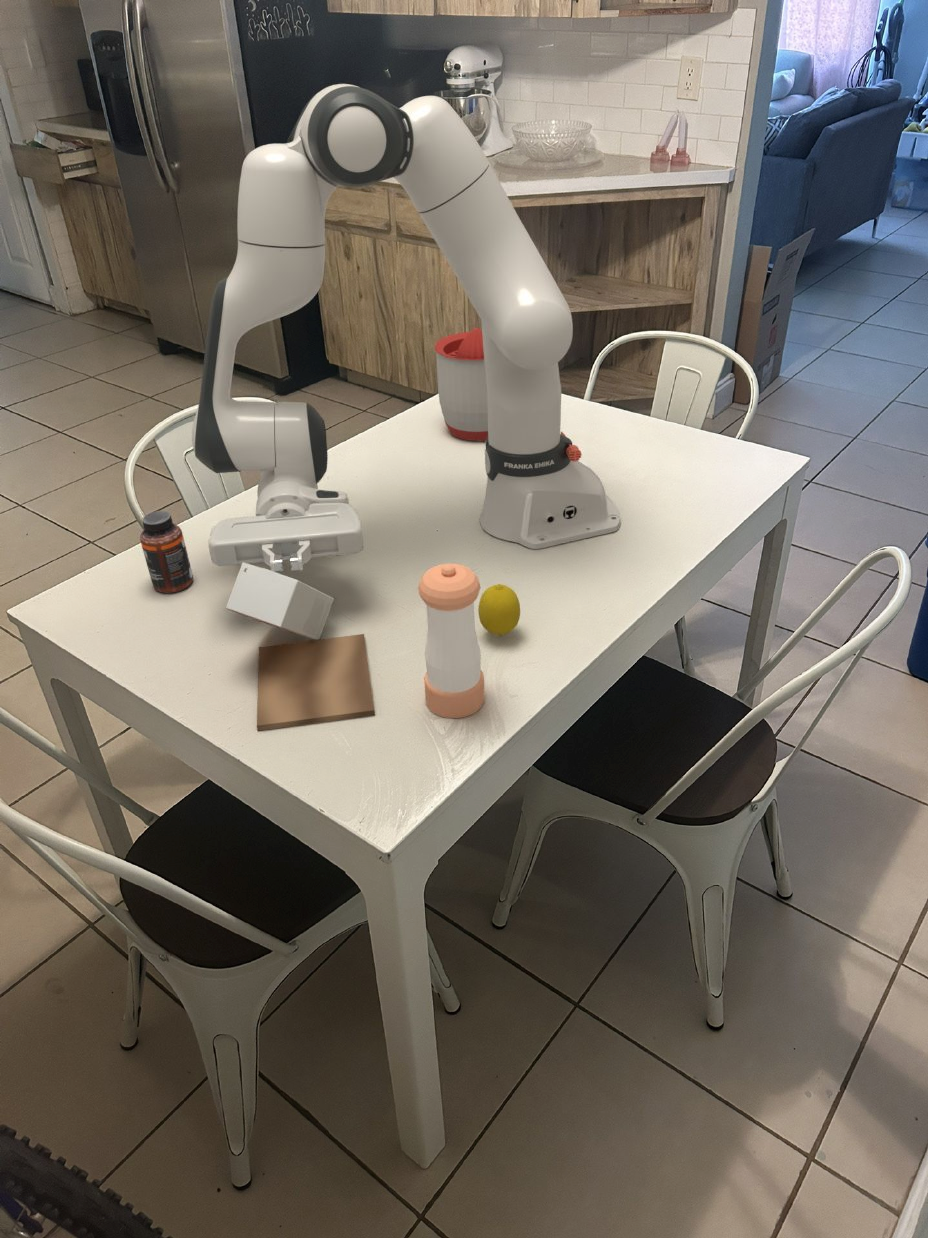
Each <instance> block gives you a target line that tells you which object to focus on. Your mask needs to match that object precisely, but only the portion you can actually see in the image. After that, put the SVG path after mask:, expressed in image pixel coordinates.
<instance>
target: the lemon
mask: <svg viewBox="0 0 928 1238" xmlns="http://www.w3.org/2000/svg"><path fill="white" fill-rule="evenodd" d="M479 599H480V600H479V602H478V609H477V612H478V616H479V617H478V618H479V622H480V624H481V625H482V627H483V629H485V631H486V632H488V633H490V634H492V635H494V636H495V635H496V636H498V635H499V636H498V637H501V636H504V635H507V634H509V633H511V632H512V631H513V630H514V629H515V628H516V627H517V626H518V624H519V621H520V617H521V604H520V601H519V597H518V595H517V594H516V592H515V591H514V589H513V588H511V587H510V586H507V585H505V584H494V585H492V586H489V587H487V588H486V589H485V590H484V591H483V592H482V594H481V596H480V598H479Z"/></svg>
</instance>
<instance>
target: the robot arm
mask: <svg viewBox="0 0 928 1238" xmlns="http://www.w3.org/2000/svg"><path fill="white" fill-rule="evenodd" d="M286 141H287V142H286V143H268V144H264V145H260V146H258V147H256V148H254V149H253V150H251V151H250V152H249V153H248V154H247V155H246V157H245V158H244V160H243V163H242V166H241V172H240V179H239V187H238V197H237V198H238V199H237V225H236V227H237V253H236V258H235V262H234V264H233V267H232V270H231V271H230V272H229V273H230V274H229V275H228V276H227V277H225V278H223V279H221V280H220V281H217V284H216V286H215V289H214V292H213V295H212V298H211V303H210V309H209V311H210V312H209V319H208V324H207V325H208V326H207V332H206V339H205V349H204V358H203V367H202V369H203V370H202V377H201V385H200V394H199V402H198V406H197V410H196V413H195V415H194V419H193V424H192V430H191V442H192V448H193V451H194V456H195V458H196V459H197V460H198V461H199V462H200V463H202V464H203V465H204V467H206V468H208V469H209V470H211V471H212V472H214V473H215V474H227V473H239V472H241V471H250V472H251V471H255V472H257V471H258V472H260V476H259V477H258V478H259V479H258V484H257V491H256V492H257V500H256V503H255V504H256V506H255V515H252V516H243V517H241V516H240V517H230V518H225V519H222V520H220V521H218V523H216V524H215V525H213V526H212V527H211V529H210V536H209V539H208V549H209V555H210V559H211V562H212V564H214V565H216V566H217V567H225V566H237V565H242V563H243V562H244V563H248V564H255V563H256V564H258V563H264V564H266V565H267V566H268V567H269V568H270V570H271V571H273V572H276V573H283V572H284V562H283V561H286V560H287V561H290V563H289V564H290V567H291V568H290V570H291V572H296V571H304V565H305V564H306V563H307V562H309V561H310V560H311V559H312V558H320V557H331V556H340V555H341V556H343V555H350V554H351V555H352V554H359V553H360V552H361V551H363V549H364V535H363V529H362V522H361V519H360V517H359V515H358V512H357V510H356V509H355V507H353V506H352V505H351V504H350V502H349V497H348V494H347V493H346V492H344V491H335V490H325V489H324V490H323V489H319V485H318V484H319V483H320V481H322V479H323V478H324V476H325V475H326V472H327V470H328V458H329V457H328V454H329V453H328V443H327V431H326V430H327V429H326V424H325V419H324V418H323V417H322V415H321V414H320V413H319V411H318V410H317V409H316V408H315V407H314V406H313V405H312V404H310V403H309V402H301V401H300V402H298V401H242V400H241V401H240V400H239V401H238V400H236V399H234V398H232V397H231V388H232V381H233V379H232V378H233V371H234V364H235V356H236V350H237V345H238V342H239V341H240V340H241V337H243V336H244V335H245V334H246V333H247V332H249V331H250V330H251V329H253V328H255V327H259V326H260V325H262V324H265V323H268V322H270V321H274V320H277V319H280V318H282V317H285V316H288V315H290V314H292V313H294V312H296V311H298V310H300V309H302V308H303V307H304V306H306V305H307V304H309V303H310V302H311V301H312V300H313V299H314V297H315V296H316V295H317V294H318V293H319V290H320V289H321V287H322V284H323V280H324V279H323V278H324V273H325V264H326V263H325V261H326V260H325V259H326V229H325V228H326V226H325V218H326V217H325V216H326V210H327V206H328V201H329V199H330V197H331V195H332V193H334V191H335V190H336V189H337V188H338V187H341V186H342V187H346V188H364V187H367V186H368V187H369V186H372V185H375V184H377V183H379V182H382V181H383V182H384V181H386V180H389V179H392V178H394V179H395V181H397V183H398V184H399V185H400V186H401V187H402V188H403V190H404V191H405V192H406V193H407V195H408V198H409V199H410V201H411V202H412V204H413V206H414V208H415V210H416V211H417V213H418V214H419V216H420V217H421V220H422V221H423V223H424V225H425V226H426V228H427V230H428V231H429V233H430V235H431V236H432V238H433V240H434V241H435V243H436V244H437V246H438V248H439V249H440V251H441V253H442V254H443V256H444V258H445V259H446V261H447V263H448V265H449V266H450V268H451V270H452V272H453V273H454V275H455V276H456V279H457V281H458V282H459V285H461V287H462V289H463V291H464V293H465V295H466V296H467V298H468V300H469V301H470V303H471V305H472V307H473V309H474V310H475V311H476V314H477V315H478V316H479V319H480V320H481V331H482V337H483V350H484V362H485V373H486V383H487V403H488V437H487V439H486V441H485V449H484V464H485V465H484V466H485V467H484V468H485V473H486V476H487V477H486V478H487V480H486V489H485V490H486V491H485V495H484V496H485V497H484V502H483V507H482V510H481V513H480V518H479V524H480V525H481V528H482V529H483V530H484V531H485V532H486V533H488V534H489V535H491V536H492V537H495V538H498V539H500V540H505V541H508V542H509V541H510V542H513V543H518V544H520V545H522V546H523V547H526V548H529V549H532V550H538V549H539V550H540V549H544V548H547V547H548V548H549V547H552V546H557V545H561V543H562V544H566V543H570V541H571V542H574V541H579V540H583V539H587V538H592V537H597V536H602V535H605V534H609V533H610V534H611V533H613V532H616V531H618V530H619V528H620V527H621V526H620V525H621V515H620V510H619V508H618V507H617V505H616V503H614V501H613V499H611V497H609V496H608V495H607V494H606V491H605V487H604V484H603V482H602V480H601V479H600V477H599V476H598V475H597V474H596V472H595V471H594V470H593V469H591V468H590V467H588V466H587V465H585V464H584V463H582V462H580V459H581V458H582V451H581V450H580V449H579V447H578V446H577V445H575V444H573V441H572V440H571V439H570V438H569V437H567V435H566V434H565V433H564V432H563V431H561V419H562V415H561V414H562V386H561V379H560V370H559V362H560V361H562V359H563V358H564V357H565V355H566V354H567V353H568V351H569V349H570V347H571V345H572V341H573V331H574V330H573V329H574V328H573V326H574V325H573V316H572V312H571V309H570V307H569V306H570V305H569V304H568V302H567V301H566V299H565V297H564V295H563V292H562V291H561V289H560V288H559V286H558V283H556V281H555V279H554V277H553V275H552V273H551V271H550V270H549V268H548V266H547V264H546V263H545V261H544V259H543V258H542V256H541V253H540V252H539V250H538V248H537V246H536V245H535V243H534V242H533V240H532V238H531V236H530V234H529V232H528V231H527V229H526V228H525V225H524V223H522V220H521V219H520V217H519V215H518V213H517V211H516V209H515V208H514V206H513V204H512V202H511V201H510V198H509V197H508V195H507V193H506V191H505V189H504V187H503V185H502V183H501V181H500V180H499V178H498V176H497V173H496V172H495V170H494V168H493V167H492V165H491V163H490V161H489V159H488V157H487V156H486V154H485V152H484V151H483V148H482V147H481V146H480V144H479V142H478V141H477V140H476V138H475V135H474V134H473V133H472V132H471V131H470V129H469V128H468V126H467V125H466V123H465V122H464V121H463V120H462V117H460V115H459V114H458V113H457V112H456V111H455V110H454V108H453V106H451V104H450V103H449V102H448V101H446V100H445V99H443V98H442V97H440V96H437V95H425V96H424V95H423V96H420V97H416V98H413V99H412V100H410V101H408V102H406V103H405V104H404V105H402V106H401V107H398V106H396V105H394V104H393V103H391V102H390V101H387V100H386V99H384V98H383V97H381V95H378V94H377V93H375V92H373V91H372V90H369V89H366V88H363V87H360V86H357V85H354V84H348V83H338V84H332V85H329V86H327V87H325V88H323V89H322V90H320V91H317V93H316V94H314V95H313V96H312V97H311V98H309V100H308V101H307V103H306V104H305V105H304V107H303V109H302V110H301V112H300V114H299V116H298V119H297V121H296V123H295V125H294V127H293V128H292V131H291V132H290V134H289V137H288V138H287V140H286Z"/></svg>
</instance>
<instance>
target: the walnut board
mask: <svg viewBox="0 0 928 1238" xmlns="http://www.w3.org/2000/svg"><path fill="white" fill-rule="evenodd" d="M365 638H366V637H365V633H360V634H351V635H344V636H337V637H329V638H327V637H326V638H321V639H319V640H313V639H311V640H305V641H304V640H303V641H297V642H288V643H278V644H271V645H264V646H258V661H257V662H258V665H257V666H258V667H257V668H258V670H257V671H258V672H257V702H256V703H257V705H256V728H257V732H258V731H261V732H262V731H266V730H267V731H268V730H275V729H282V728H283V729H284V728H288V727H297V726H305V725H311V724H316V723H318V724H320V723H326V722H334V721H340V720H348V719H349V720H350V719H356V718H365V717H370V716H371V717H372V716H375V715H376V714H375V706H374V700H373V692H372V682H371V677H370V675H371V674H370V668H369V667H370V666H369V660H368V653H367V646H366V639H365Z"/></svg>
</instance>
